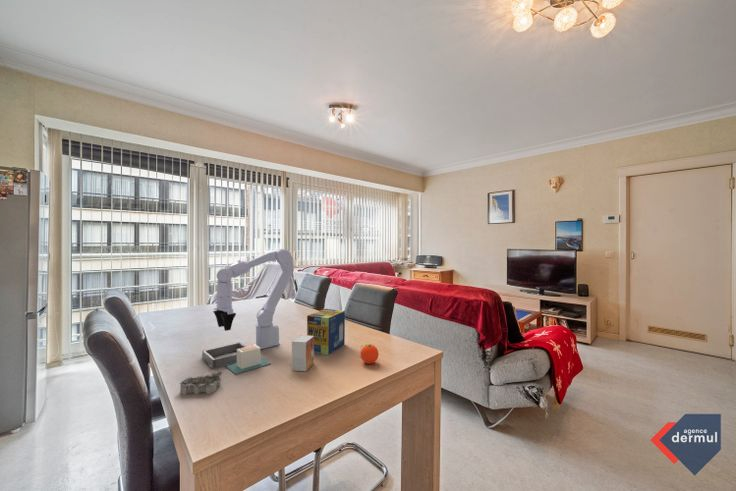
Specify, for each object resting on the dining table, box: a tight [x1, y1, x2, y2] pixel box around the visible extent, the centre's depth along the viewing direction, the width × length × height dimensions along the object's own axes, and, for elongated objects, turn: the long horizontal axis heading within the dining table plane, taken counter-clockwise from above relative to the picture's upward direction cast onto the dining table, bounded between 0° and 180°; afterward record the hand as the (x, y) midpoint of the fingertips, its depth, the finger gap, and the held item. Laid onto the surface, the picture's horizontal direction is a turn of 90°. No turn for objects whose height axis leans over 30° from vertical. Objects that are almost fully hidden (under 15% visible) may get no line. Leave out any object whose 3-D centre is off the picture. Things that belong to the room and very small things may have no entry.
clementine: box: [360, 343, 379, 365], centre depth 113 cm, size 8×7×7 cm
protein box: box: [306, 308, 346, 357], centre depth 128 cm, size 10×15×16 cm
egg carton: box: [178, 371, 223, 395], centre depth 92 cm, size 11×8×4 cm
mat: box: [225, 356, 271, 376], centre depth 110 cm, size 13×9×1 cm
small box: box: [291, 334, 315, 372], centre depth 109 cm, size 8×6×10 cm
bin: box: [201, 342, 248, 370], centre depth 117 cm, size 15×14×3 cm
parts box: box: [236, 344, 261, 369], centre depth 110 cm, size 4×7×6 cm, turn 134°
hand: (224, 328), depth 125 cm, fingers open, 7 cm apart
